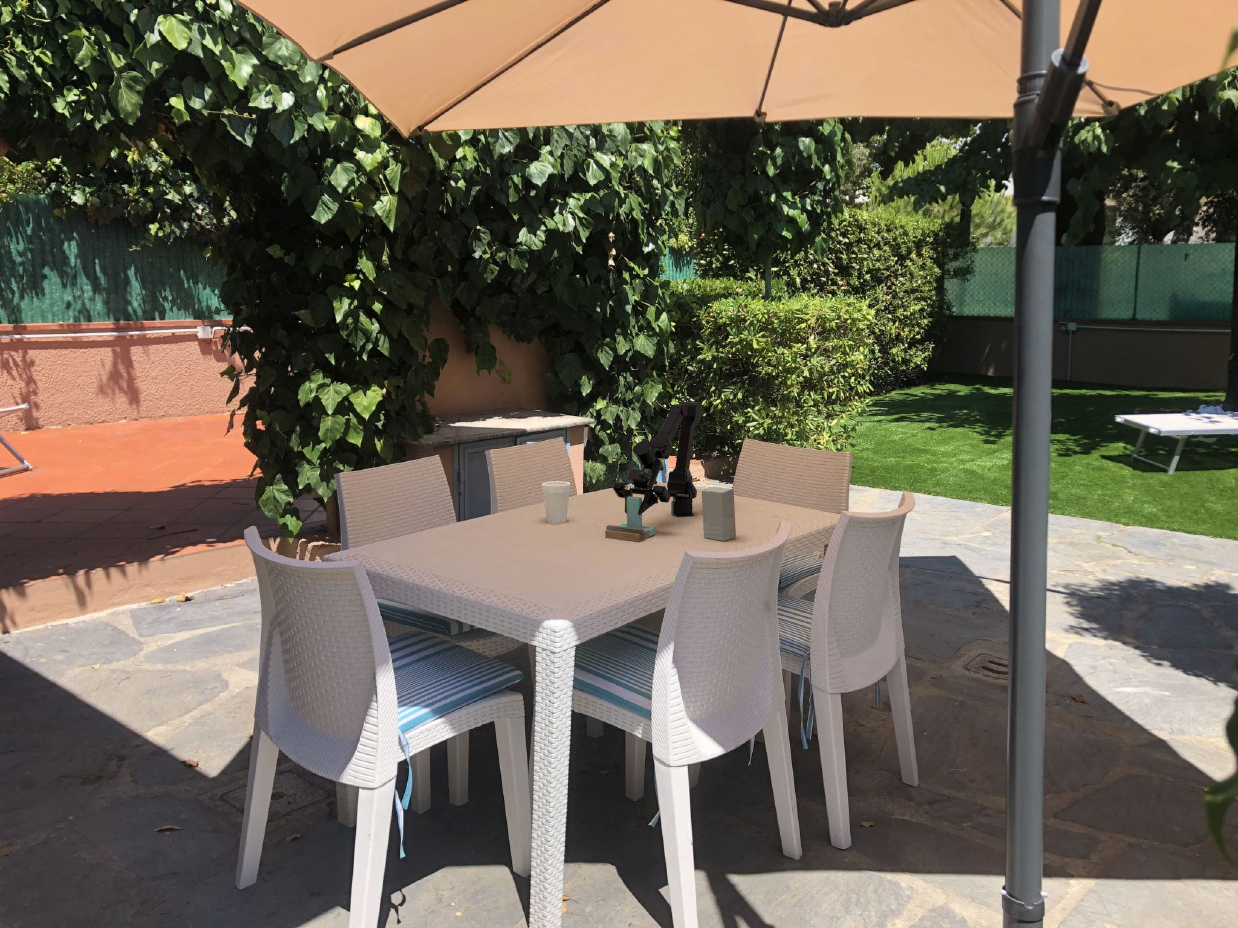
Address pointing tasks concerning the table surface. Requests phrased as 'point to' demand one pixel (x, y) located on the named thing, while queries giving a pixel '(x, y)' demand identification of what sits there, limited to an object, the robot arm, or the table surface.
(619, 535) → the board
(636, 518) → the teal t-shaped block
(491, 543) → the table surface
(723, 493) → the skincare box
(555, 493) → the foam cup
